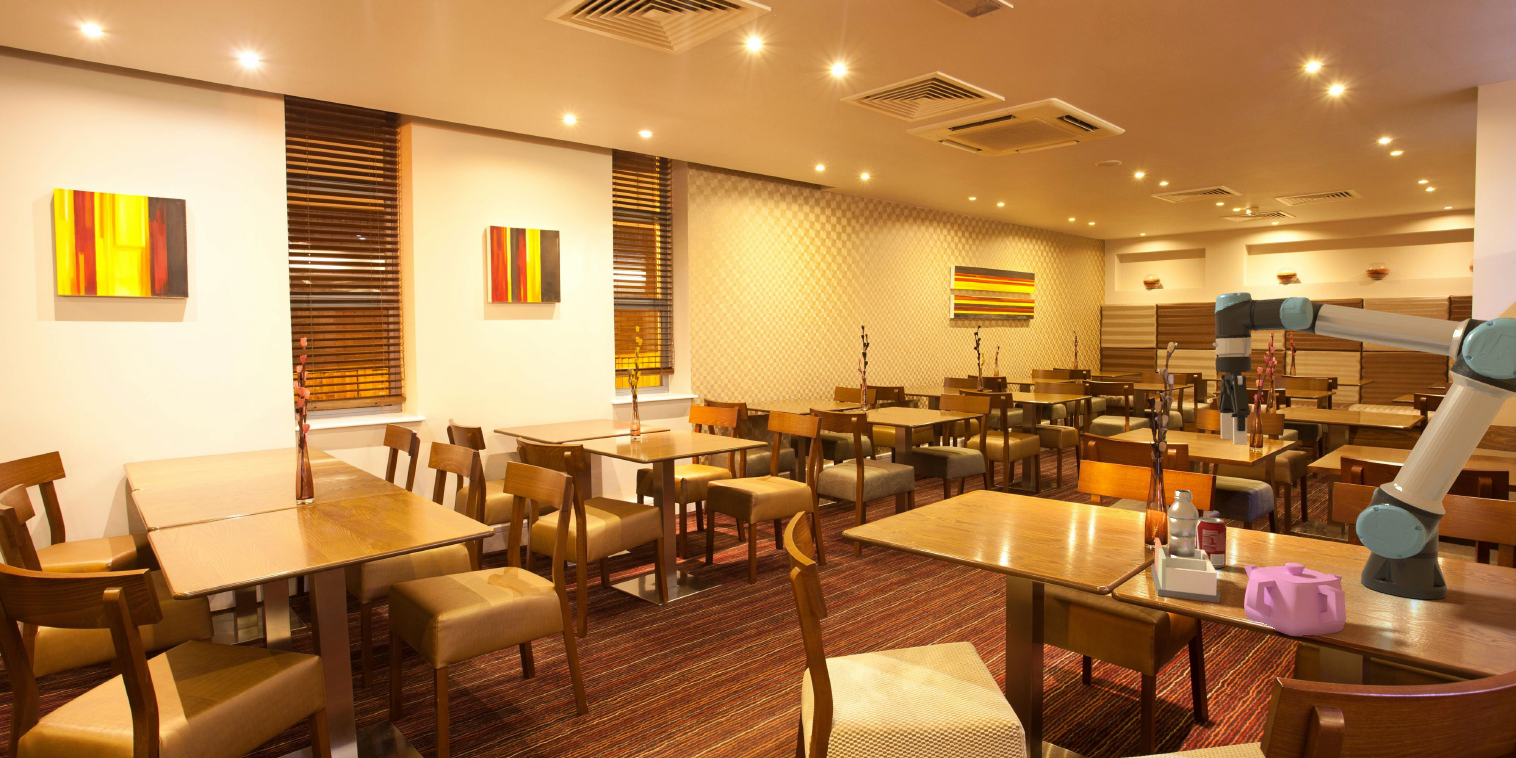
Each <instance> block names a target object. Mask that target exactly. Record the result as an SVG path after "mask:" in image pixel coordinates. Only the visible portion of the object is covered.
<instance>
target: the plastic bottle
mask: <svg viewBox="0 0 1516 758" xmlns="http://www.w3.org/2000/svg"><path fill="white" fill-rule="evenodd" d="M1173 498H1174V502H1173V503H1172V504H1170V506H1169V508H1168V510H1167V518H1168V524H1169V525H1168V526H1169V544H1168V547H1169V551H1168V552H1169V553H1168V555H1167V556H1168V557H1178V558H1189V559H1197V558H1196V550H1195V536H1196V527H1197V522H1198V521H1199V510H1198V509H1197V508H1196V506H1195V504H1193V502H1192V501H1193V499H1194V498H1193V492H1192V491H1191V490H1186V489H1175V490H1174V497H1173Z"/></svg>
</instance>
